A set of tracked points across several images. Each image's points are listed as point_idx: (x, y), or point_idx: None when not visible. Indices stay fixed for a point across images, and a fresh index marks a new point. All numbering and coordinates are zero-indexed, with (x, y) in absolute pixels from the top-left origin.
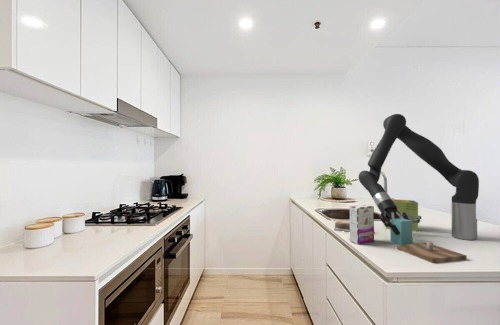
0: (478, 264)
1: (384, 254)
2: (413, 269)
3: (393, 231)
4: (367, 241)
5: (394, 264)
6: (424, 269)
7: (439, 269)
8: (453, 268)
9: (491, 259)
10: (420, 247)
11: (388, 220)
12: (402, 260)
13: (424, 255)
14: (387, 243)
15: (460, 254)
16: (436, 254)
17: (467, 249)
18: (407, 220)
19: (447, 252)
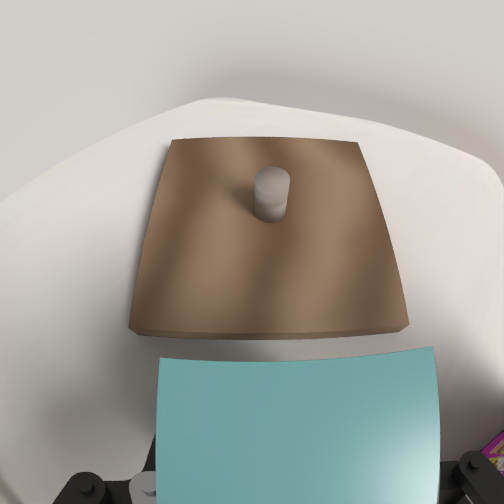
0: (191, 124)
1: (484, 263)
2: (439, 149)
3: None
4: (486, 447)
5: (475, 185)
6: (411, 140)
7: (367, 127)
8: (316, 120)
9: (92, 150)
10: (287, 255)
11: (482, 496)
12: (446, 199)
13: (365, 168)
14: None
15: (181, 149)
16: (297, 163)
17: (27, 239)
18: (232, 416)
19: (211, 171)
